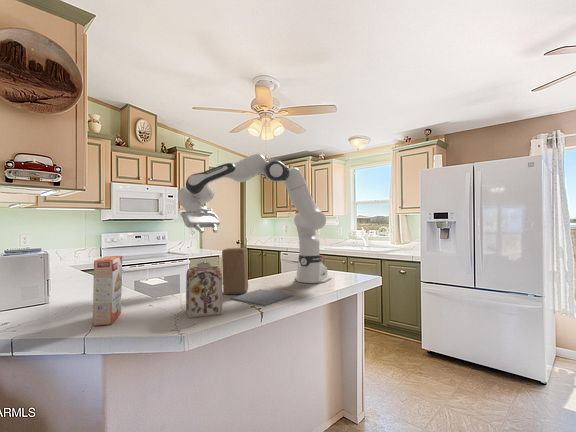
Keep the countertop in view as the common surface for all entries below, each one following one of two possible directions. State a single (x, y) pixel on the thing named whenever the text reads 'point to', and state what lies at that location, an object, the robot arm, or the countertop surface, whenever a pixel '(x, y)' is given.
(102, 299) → the cracker box
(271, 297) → the charcoal rubber mat
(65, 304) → the countertop surface
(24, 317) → the countertop surface
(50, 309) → the countertop surface
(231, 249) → the wooden block
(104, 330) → the countertop surface
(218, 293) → the decorative jar
